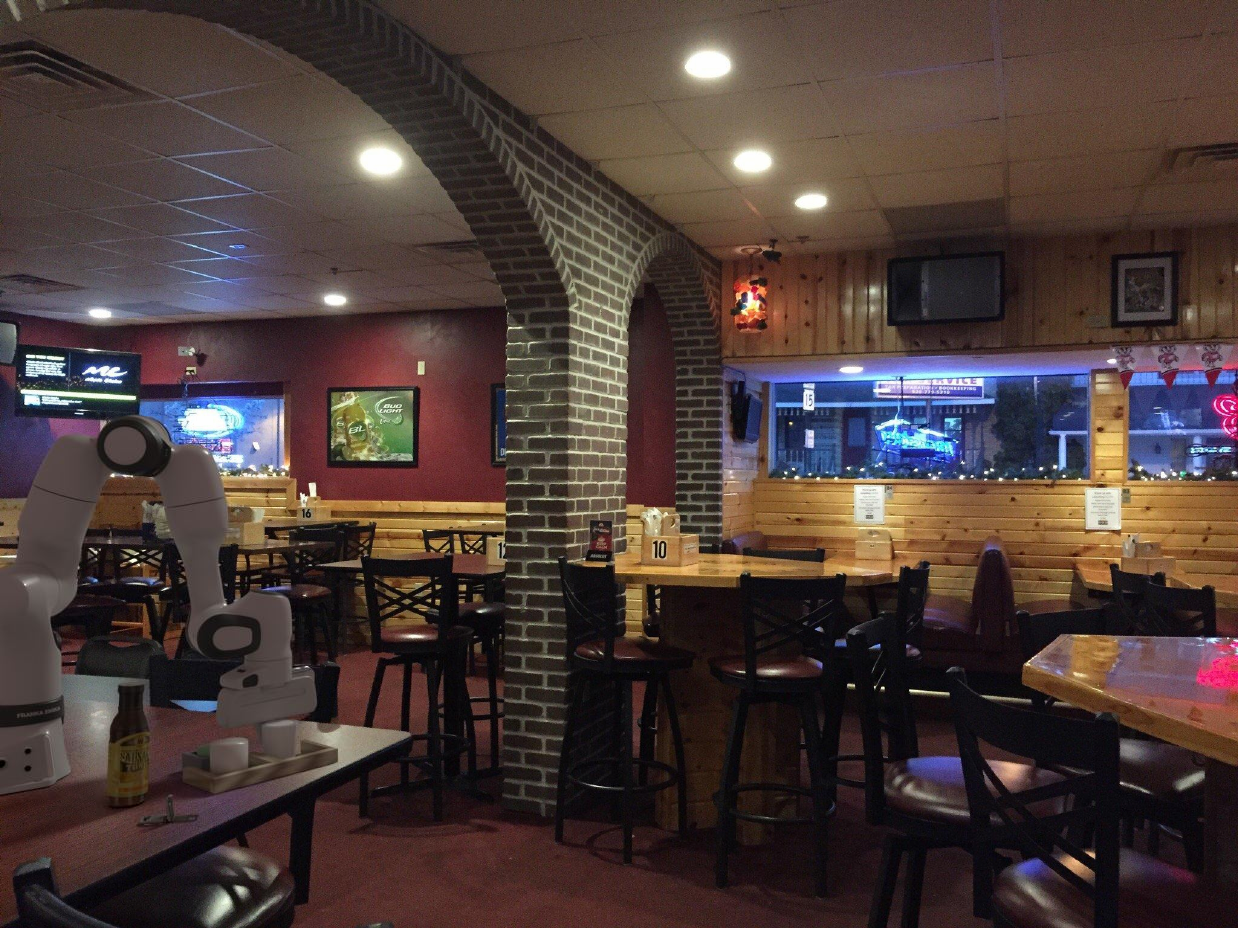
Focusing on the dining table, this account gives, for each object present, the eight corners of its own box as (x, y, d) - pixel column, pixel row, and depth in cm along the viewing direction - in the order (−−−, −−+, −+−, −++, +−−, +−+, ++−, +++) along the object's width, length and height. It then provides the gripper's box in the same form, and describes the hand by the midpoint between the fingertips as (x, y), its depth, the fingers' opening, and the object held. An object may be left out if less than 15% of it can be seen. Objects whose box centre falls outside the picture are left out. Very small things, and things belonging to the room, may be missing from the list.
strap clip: (138, 828, 156) (138, 801, 156) (141, 821, 159) (141, 794, 159) (196, 823, 158) (196, 796, 158) (199, 816, 161) (199, 790, 161)
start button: (204, 765, 183) (204, 750, 183) (192, 761, 186) (192, 746, 186) (226, 760, 187) (227, 745, 187) (214, 756, 190) (214, 741, 190)
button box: (201, 777, 182) (201, 759, 182) (182, 770, 186) (182, 752, 186) (237, 768, 187) (237, 751, 187) (217, 761, 191) (217, 744, 191)
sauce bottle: (120, 811, 163) (121, 689, 163) (98, 804, 166) (99, 685, 167) (157, 800, 169) (157, 682, 169) (135, 794, 172) (136, 678, 172)
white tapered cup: (287, 764, 189) (287, 727, 189) (253, 762, 190) (254, 726, 191) (304, 754, 196) (304, 719, 196) (272, 753, 197) (272, 717, 197)
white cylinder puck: (221, 788, 175) (221, 748, 175) (203, 781, 179) (203, 742, 179) (255, 780, 180) (255, 741, 180) (236, 773, 184) (236, 735, 184)
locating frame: (214, 793, 172) (214, 779, 172) (182, 781, 179) (182, 767, 179) (337, 761, 191) (337, 748, 191) (304, 751, 198) (304, 739, 198)
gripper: (304, 662, 206) (304, 729, 206) (211, 678, 190) (211, 751, 190) (323, 666, 203) (323, 734, 202) (229, 682, 186) (229, 756, 186)
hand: (268, 742), depth 196 cm, fingers closed
